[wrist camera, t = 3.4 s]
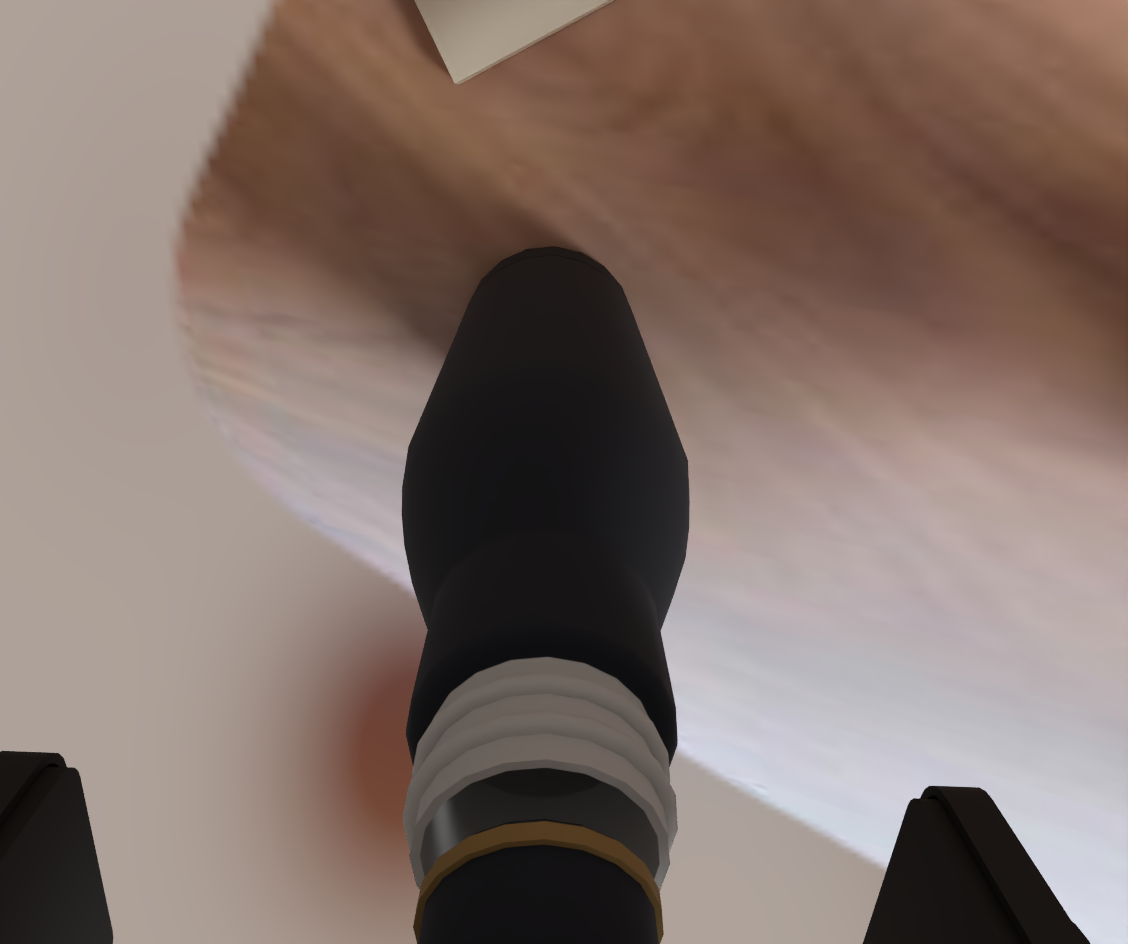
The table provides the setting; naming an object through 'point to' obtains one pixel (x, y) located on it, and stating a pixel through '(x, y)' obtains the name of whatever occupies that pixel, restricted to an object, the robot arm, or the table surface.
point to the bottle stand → (495, 28)
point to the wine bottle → (543, 617)
